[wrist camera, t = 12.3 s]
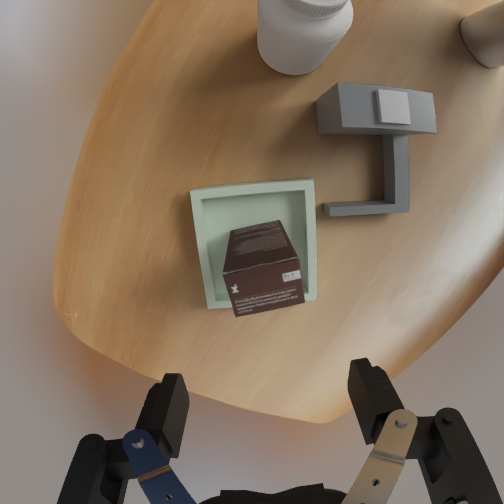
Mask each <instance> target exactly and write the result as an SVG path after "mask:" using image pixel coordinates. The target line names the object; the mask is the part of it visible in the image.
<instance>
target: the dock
mask: <svg viewBox="0 0 504 504" xmlns="http://www.w3.org/2000/svg"><path fill="white" fill-rule="evenodd" d="M315 104H316V113H317V123H318V134H363V135H382V146H383V164H384V200H373V201H351V202H333V203H323V212H324V213H326V214H327V215H328V216H330V217H334V216H349V215H365V214H383V213H402V212H409V201H410V178H409V149H408V135H413V134H429V133H437V127H436V116H435V108H434V100H433V93H428V92H422V91H416V90H410V89H403V88H396V87H388V86H379V85H368V84H355V83H336V84H335V85H334V86H333V87H331V88H330V89H329V90H328V91H327V92H325V93H324V94H323V95H322V96H321V97H319V98H318V99H317V100H316V101H315Z"/></svg>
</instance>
